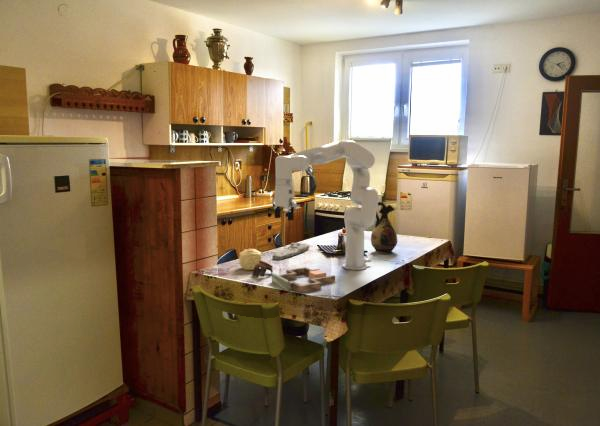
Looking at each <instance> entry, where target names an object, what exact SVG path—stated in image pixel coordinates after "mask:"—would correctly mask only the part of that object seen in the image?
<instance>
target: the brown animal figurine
mask: <svg viewBox="0 0 600 426" xmlns="http://www.w3.org/2000/svg"><path fill="white" fill-rule="evenodd" d="M273 267H274V266H273V265H271V264H270V263H267V262H266V261H263V260H262V261H259V263H257V264H256V265H255V267H254V270H252V276H253V277H256V278H259V276H260V277H264V276H265V275H266V272H267V271H270V272H271V273H270V275H271V276H272V274H273Z"/></svg>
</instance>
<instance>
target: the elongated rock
mask: <svg viewBox="0 0 600 426" xmlns="http://www.w3.org/2000/svg"><path fill="white" fill-rule="evenodd" d="M309 249H310V244H307V243H299V242H291V243H290V244H289V246H288V247H287V248H285V249H282V250H280V251H278V252H274V253H273V255H272V257H271V258H273V260H275V261H281V260H285V259H289V258H291V257H294V256H295V257H296V256H297V255H299V254H302V253H304V252H307V250H309Z"/></svg>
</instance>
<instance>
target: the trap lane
mask: <svg viewBox="0 0 600 426" xmlns="http://www.w3.org/2000/svg"><path fill="white" fill-rule="evenodd" d="M316 270H320V268H315V269H311V268H309V267H307V266H304V267H297V268H291V269H286V272H285V273H284V274H282V273H281V274H276V273H272V275H271V283H272V284H274V285H276V286H278V287H280V288H281V287H282V289H283V288H284V289H283V290H285V289H286V290H285V291H287V290H288V291H295V292H297V293H299V294H303V293H302V292H304V293H307V292H314V291H313V290H315V291H320V290H322V285H327V283H328V284H332V283H333V282H334V283H336V275H326V277H320V278H314V279H310V280H309V283H305V284H300V283H298V282H295V281H296V280H298V279H301V278H306V277H308V278H309V272H310V271H316ZM288 280H289V281H288ZM294 280H295V281H294ZM334 283H333V284H334ZM292 289H293V290H292Z"/></svg>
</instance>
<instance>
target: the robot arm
mask: <svg viewBox="0 0 600 426" xmlns="http://www.w3.org/2000/svg"><path fill="white" fill-rule="evenodd" d="M343 158H346V159H345V160H346V163H347V165H348V166H349V168H350V169H351V171H352V174H353V178H352V185H351V191H350V196H349V197H350V198H349V199H350V201H351V203H353V204H354V205H358V206H359V207H358V206H351V207H348V208H347V209H346V210H345V212H344V215H343V220H344V226H345V261H344V262H345V263H343V264H342V268H343V269H345V270H350V271H363V270H366V268H368V267H367V266H368V265H367V263H371V262H372V259H371V258H365V232H364V231H365V230H364V229H369V228H371V227H372V226H373V225H374V223H375V222H376V221H375V220H376V212H377V213H378V207H379V206H378V202H380V201H379V194H378V191H377V190H376V189H375V188H373V187H370V183H371V173H370V170H369V169H370V168H373V166H374V165H375V161H376V159H375V158H376V157H375V156H374V154H373V153H372V152H371V151H370V150H368V149H367V148H365V147H364V146H363V145H361V144H359V143H358V142H356V141H354V140H351V139H345V140H343V139H341V140H336V141H333V142H331V143H328V144H324V145H321V146H318V147H317V146H315V147H313V148H310V149H309V148H308V149H304V150H301V151H297V152H294V153H291V154H287V155H277V156H276V157H275V160H274V161H275V186H274V187H275V188H274V198H272V199H271V203H272V207H273V210H274V219H279V218H281V215H282V214H281V213H282V212H281V208H285V209H287V211H288V212H287V221H288V222H290V221H294V220H295V217H294V216H295V214H294V212H295V211H296V208H297V205H298V203H297V201H296V200H295V198H296V197H295V192H294V185H293V179H292V178H293V173H292V172H293V171H295V172H304V171H306V170H307V169H308V168H310V165H313V166H314V165H325V164H328V163H330V162H334V161H336V160H340V159H343ZM360 206H361V207H360Z"/></svg>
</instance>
